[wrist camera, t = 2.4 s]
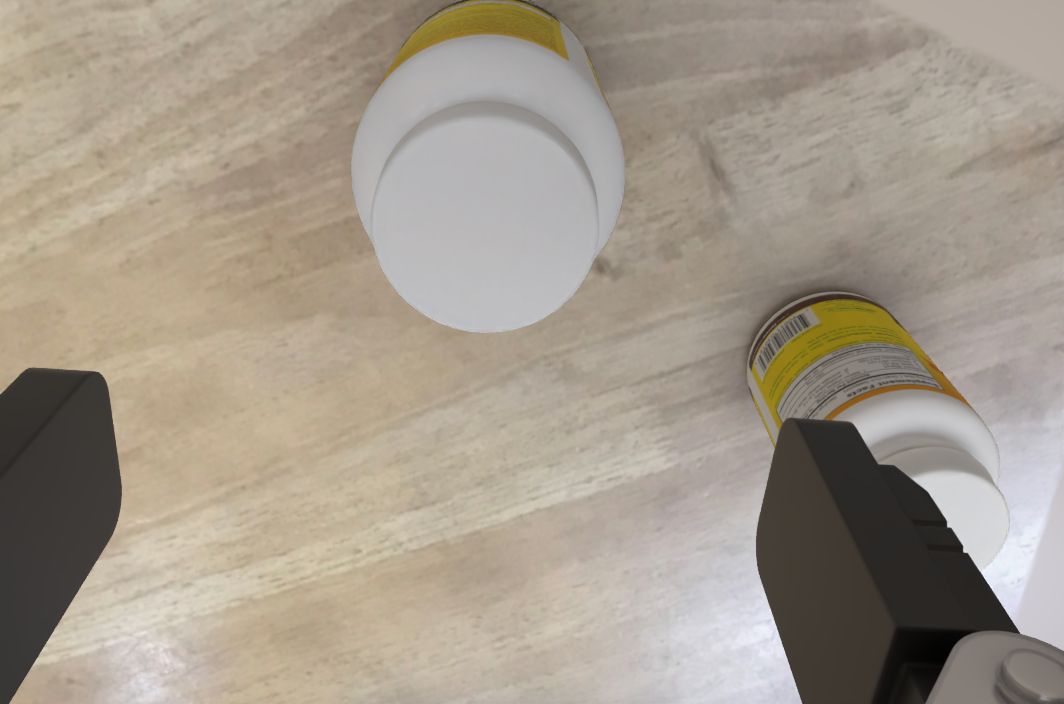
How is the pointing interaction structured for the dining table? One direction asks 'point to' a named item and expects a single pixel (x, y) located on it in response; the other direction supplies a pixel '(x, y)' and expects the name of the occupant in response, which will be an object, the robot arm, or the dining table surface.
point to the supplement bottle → (882, 405)
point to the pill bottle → (488, 166)
